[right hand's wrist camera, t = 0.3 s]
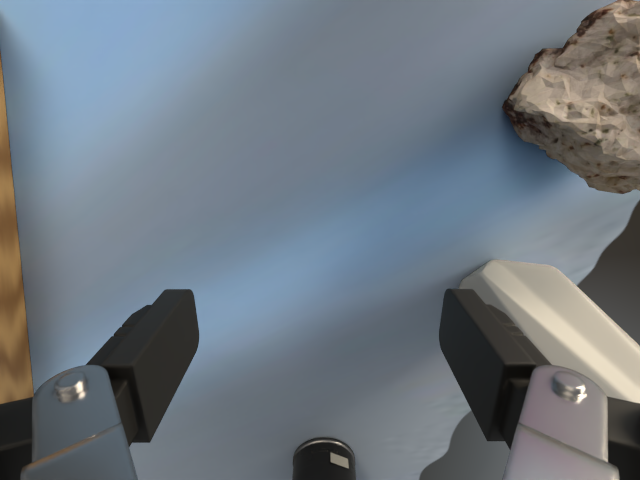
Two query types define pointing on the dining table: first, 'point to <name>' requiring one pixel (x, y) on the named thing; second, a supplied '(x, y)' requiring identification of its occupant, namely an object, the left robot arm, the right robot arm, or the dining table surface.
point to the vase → (561, 323)
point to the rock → (587, 100)
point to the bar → (11, 282)
